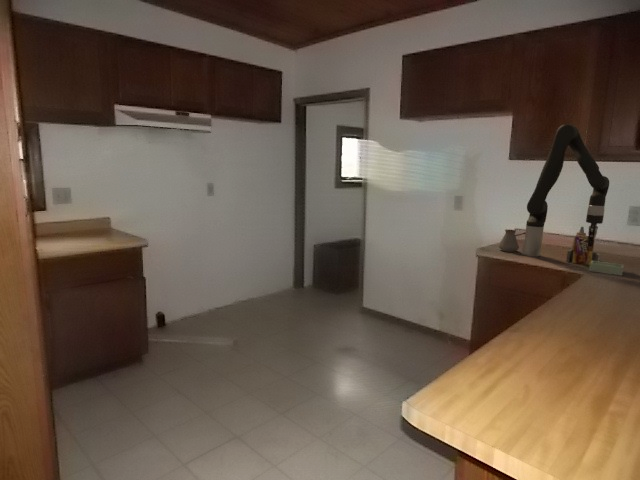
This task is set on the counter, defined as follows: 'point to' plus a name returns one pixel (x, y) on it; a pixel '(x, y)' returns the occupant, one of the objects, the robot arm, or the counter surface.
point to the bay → (570, 255)
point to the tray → (606, 267)
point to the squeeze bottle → (578, 234)
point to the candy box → (582, 250)
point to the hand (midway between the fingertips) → (590, 245)
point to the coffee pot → (509, 241)
